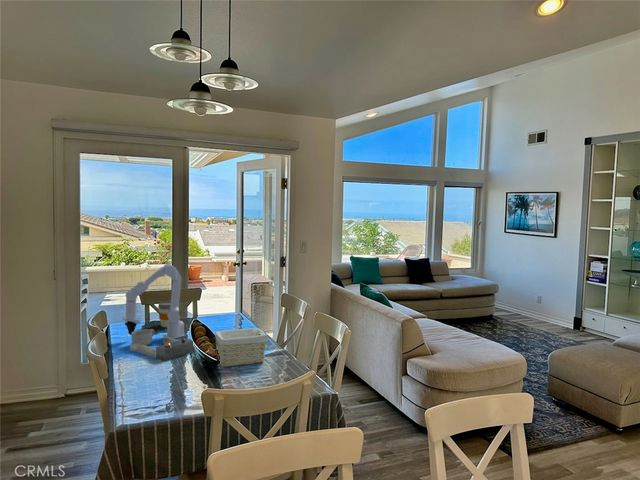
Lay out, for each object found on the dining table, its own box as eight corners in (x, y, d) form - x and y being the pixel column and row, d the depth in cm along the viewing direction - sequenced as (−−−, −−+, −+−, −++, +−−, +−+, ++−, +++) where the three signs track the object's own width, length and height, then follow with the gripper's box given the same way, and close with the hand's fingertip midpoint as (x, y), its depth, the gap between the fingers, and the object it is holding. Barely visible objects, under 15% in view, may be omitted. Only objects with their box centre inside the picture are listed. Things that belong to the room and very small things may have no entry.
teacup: (138, 349, 232) (137, 335, 232) (127, 345, 239) (127, 331, 238) (161, 343, 244) (161, 329, 243) (150, 339, 250) (150, 326, 250)
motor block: (164, 341, 248) (164, 329, 247) (197, 350, 232) (197, 337, 232) (129, 351, 229) (129, 337, 229) (161, 362, 214) (161, 348, 213)
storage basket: (258, 353, 230) (259, 326, 229) (267, 363, 216) (268, 334, 215) (213, 358, 221) (214, 330, 220) (220, 369, 206) (220, 339, 205)
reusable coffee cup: (157, 324, 285) (157, 302, 285) (177, 322, 291) (177, 300, 290) (158, 328, 274) (158, 305, 273) (179, 327, 279) (179, 304, 278)
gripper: (117, 310, 247) (117, 333, 248) (132, 314, 239) (132, 338, 240) (128, 308, 253) (128, 330, 254) (143, 312, 245) (143, 335, 246)
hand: (131, 334), depth 247 cm, fingers closed
